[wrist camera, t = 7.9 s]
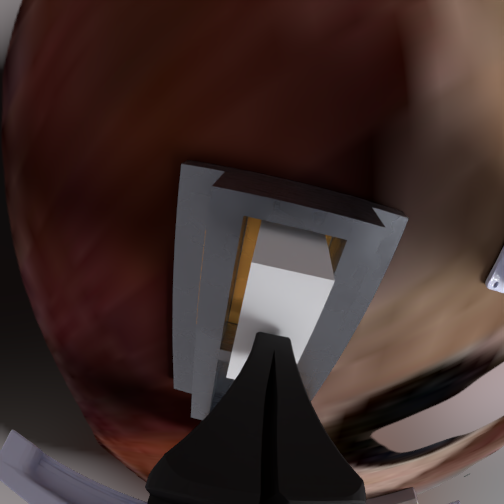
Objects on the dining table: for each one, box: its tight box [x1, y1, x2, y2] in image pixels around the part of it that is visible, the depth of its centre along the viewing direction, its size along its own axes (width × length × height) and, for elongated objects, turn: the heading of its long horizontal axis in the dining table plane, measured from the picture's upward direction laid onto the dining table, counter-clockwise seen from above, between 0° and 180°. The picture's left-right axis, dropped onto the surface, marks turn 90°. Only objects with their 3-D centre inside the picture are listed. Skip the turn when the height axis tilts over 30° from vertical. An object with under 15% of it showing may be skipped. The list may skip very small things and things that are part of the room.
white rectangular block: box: [226, 220, 335, 380], centre depth 14 cm, size 3×7×5 cm, turn 169°
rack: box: [173, 160, 409, 420], centre depth 18 cm, size 12×20×4 cm, turn 169°
